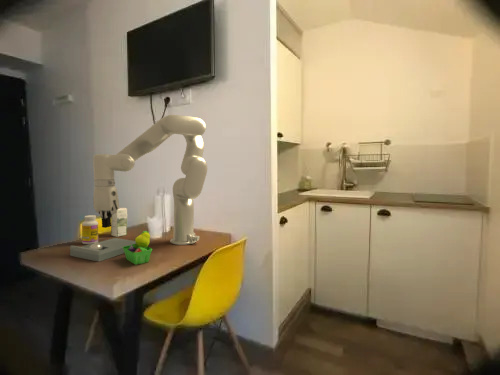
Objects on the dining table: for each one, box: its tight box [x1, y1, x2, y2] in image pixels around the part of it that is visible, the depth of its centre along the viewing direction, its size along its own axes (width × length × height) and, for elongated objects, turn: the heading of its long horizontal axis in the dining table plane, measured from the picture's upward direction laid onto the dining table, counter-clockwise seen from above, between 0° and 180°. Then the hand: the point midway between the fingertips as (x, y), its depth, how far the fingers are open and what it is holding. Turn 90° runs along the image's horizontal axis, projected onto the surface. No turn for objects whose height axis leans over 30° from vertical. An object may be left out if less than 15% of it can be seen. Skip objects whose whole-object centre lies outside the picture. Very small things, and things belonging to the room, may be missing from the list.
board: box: [69, 237, 136, 262], centre depth 122 cm, size 16×22×4 cm
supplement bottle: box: [81, 214, 99, 245], centre depth 134 cm, size 7×7×13 cm
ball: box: [89, 243, 103, 250], centre depth 117 cm, size 5×5×5 cm
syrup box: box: [110, 207, 128, 238], centre depth 149 cm, size 6×6×14 cm
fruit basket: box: [123, 230, 153, 266], centre depth 111 cm, size 11×9×11 cm
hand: (106, 226), depth 120 cm, fingers closed
